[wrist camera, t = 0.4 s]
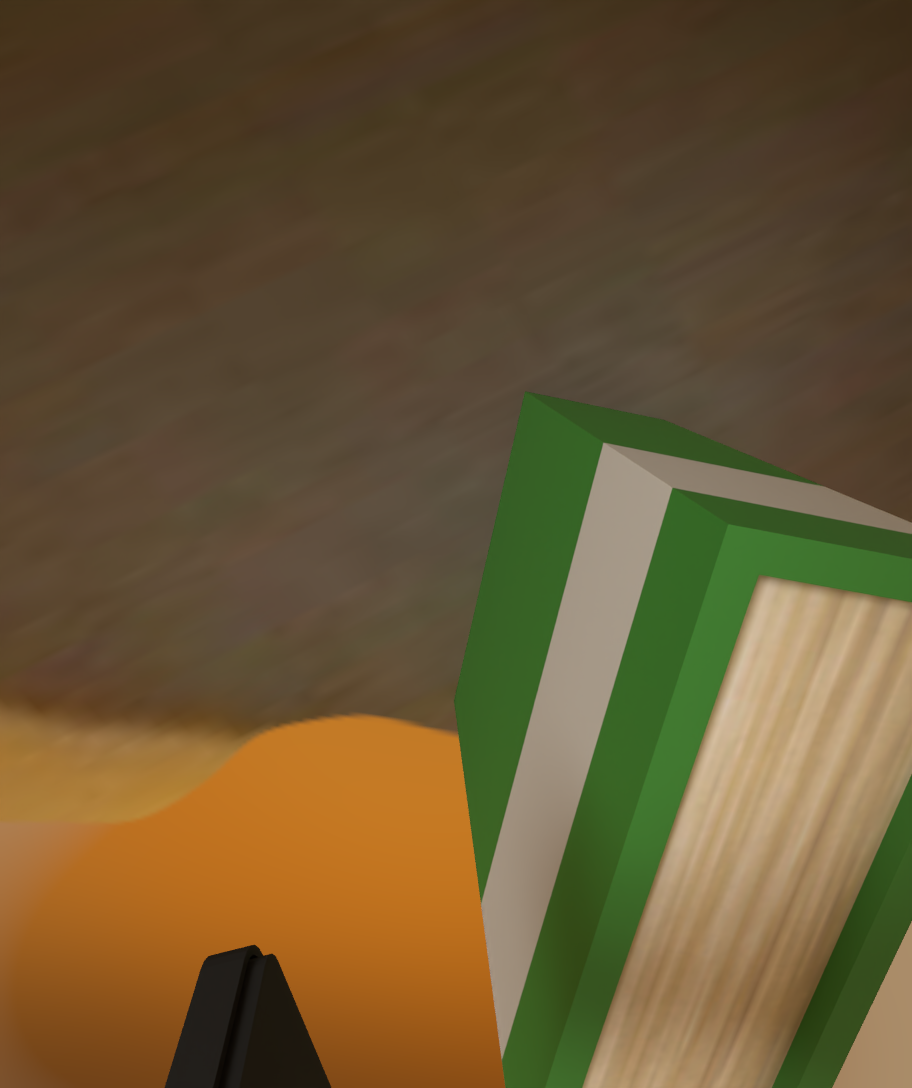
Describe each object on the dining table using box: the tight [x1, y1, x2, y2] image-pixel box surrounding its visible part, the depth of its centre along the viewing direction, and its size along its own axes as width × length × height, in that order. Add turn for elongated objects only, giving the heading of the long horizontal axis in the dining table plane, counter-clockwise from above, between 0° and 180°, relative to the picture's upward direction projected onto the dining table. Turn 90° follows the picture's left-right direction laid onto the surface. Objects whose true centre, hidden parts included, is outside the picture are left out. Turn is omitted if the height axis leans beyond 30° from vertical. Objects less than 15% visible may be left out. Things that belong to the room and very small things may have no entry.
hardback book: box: [454, 392, 912, 1088], centre depth 28 cm, size 18×7×24 cm, turn 168°
